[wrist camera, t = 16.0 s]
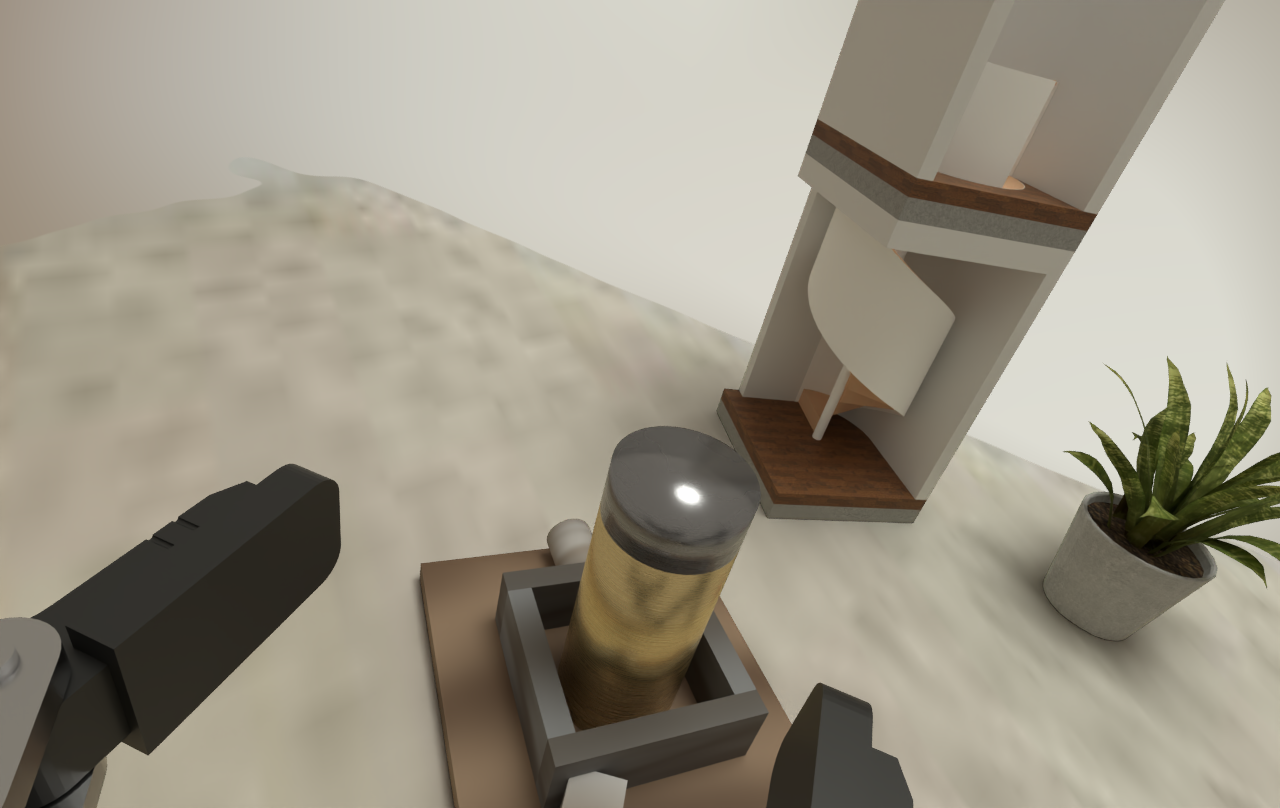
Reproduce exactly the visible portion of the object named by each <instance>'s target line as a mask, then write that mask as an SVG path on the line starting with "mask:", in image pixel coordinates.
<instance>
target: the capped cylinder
mask: <svg viewBox="0 0 1280 808" xmlns="http://www.w3.org/2000/svg"><path fill="white" fill-rule="evenodd" d="M760 499H761V490H760V485H759V481H758V479H757V477H756V474H755V473H754V471H753V470H752V468H751V466H750V465H749V464H748V463H747V462H746V460H744V459H743V458H742V457H741V456H740V455H739V454H738V453H737V452H736V451H734V450H733V449H732V448H730V447H729V446H727V445H726V444H724V443H722V442H721V441H719V440H717V439H715V438H713V437H711V436H708V435H706V434H703V433H700V432H697V431H694V430H690V429H685V428H679V427H669V426H658V427H649V428H645V429H641V430H638V431H635V432H633V433H631V434H629V435H628V436H626V437H625V438H623V439H622V440H621V441H620V442H619V443H618V445H617V446H616V448H615V450H614V453H613V455H612V459H611V463H610V467H609V471H608V475H607V479H606V483H605V487H604V491H603V495H602V499H601V503H600V506H599V510H598V514H597V518H596V522H595V526H594V530H593V534H592V538H591V542H590V546H589V550H588V554H587V558H586V561H585V565H584V569H583V573H582V577H581V581H580V585H579V589H578V593H577V597H576V601H575V605H574V609H573V612H572V616H571V620H570V624H569V628H568V632H567V636H566V640H565V644H564V648H563V652H562V656H561V660H560V663H559V667H558V672H557V673H558V676H559V680H560V683H561V686H562V689H563V693H564V696H565V699H566V703H567V706H568V709H569V712H570V716H571V719H572V722H573V723H574V724H575V725H576V726H577V727H579V728H580V729H581V730H582V731H583V730H588V729H592V728H596V727H600V726H605V725H609V724H613V723H617V722H621V721H626V720H630V719H634V718H638V717H642V716H647V715H651V714H655V713H659V712H664V711H668V710H670V708H671V706H672V704H673V701H674V699H675V697H676V695H677V692H678V690H679V688H680V685H681V683H682V681H683V678H684V676H685V674H686V672H687V669H688V667H689V665H690V662H691V660H692V658H693V655H694V653H695V651H696V649H697V646H698V644H699V642H700V639H701V637H702V635H703V632H704V630H705V628H706V626H707V623H708V621H709V619H710V616H711V614H712V612H713V609H714V607H715V605H716V603H717V600H718V598H719V596H720V593H721V591H722V589H723V586H724V584H725V582H726V580H727V577H728V575H729V573H730V570H731V568H732V566H733V563H734V561H735V559H736V557H737V554H738V552H739V550H740V547H741V545H742V543H743V540H744V538H745V536H746V534H747V531H748V529H749V527H750V524H751V522H752V520H753V517H754V515H755V513H756V511H757V508H758V506H759V503H760Z"/></svg>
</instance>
